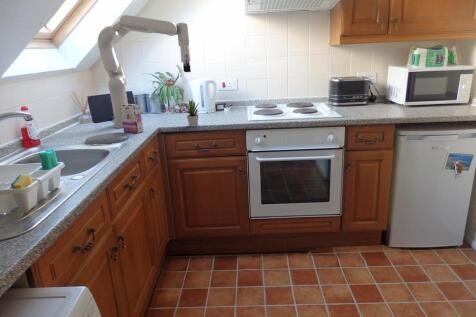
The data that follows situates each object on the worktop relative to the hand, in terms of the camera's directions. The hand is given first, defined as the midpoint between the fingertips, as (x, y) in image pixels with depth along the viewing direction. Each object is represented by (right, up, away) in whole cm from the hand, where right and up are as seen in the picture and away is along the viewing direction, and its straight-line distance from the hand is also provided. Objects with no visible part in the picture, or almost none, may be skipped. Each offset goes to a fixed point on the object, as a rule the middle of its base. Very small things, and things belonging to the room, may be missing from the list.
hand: (187, 71), depth 227 cm
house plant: (+4, -35, -9) cm, 37 cm away
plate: (-38, -45, -35) cm, 69 cm away
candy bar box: (-28, -40, -19) cm, 53 cm away
